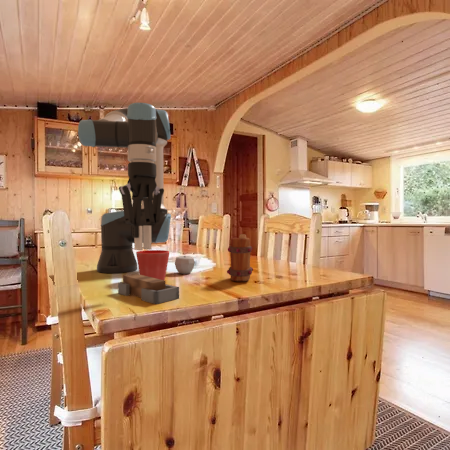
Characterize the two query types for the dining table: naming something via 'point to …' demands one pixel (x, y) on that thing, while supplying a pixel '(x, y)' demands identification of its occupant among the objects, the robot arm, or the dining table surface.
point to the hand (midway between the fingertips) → (143, 249)
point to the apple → (184, 264)
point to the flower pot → (153, 263)
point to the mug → (240, 259)
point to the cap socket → (160, 294)
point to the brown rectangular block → (142, 283)
